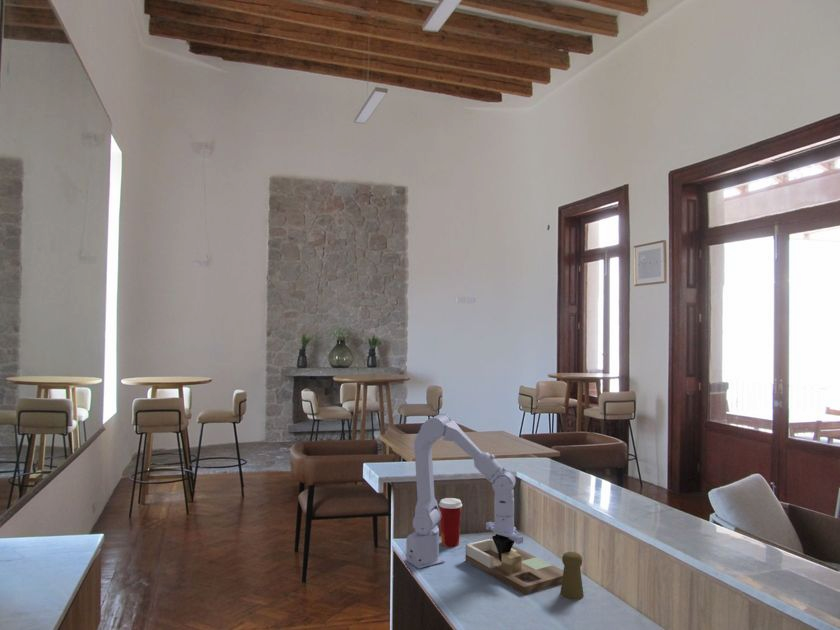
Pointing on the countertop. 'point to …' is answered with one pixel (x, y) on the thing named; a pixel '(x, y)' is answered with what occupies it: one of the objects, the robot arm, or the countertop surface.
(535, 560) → the pad
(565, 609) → the countertop surface
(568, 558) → the cork
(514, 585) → the board
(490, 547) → the cubby
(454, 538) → the paper cup
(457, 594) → the countertop surface
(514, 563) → the block
